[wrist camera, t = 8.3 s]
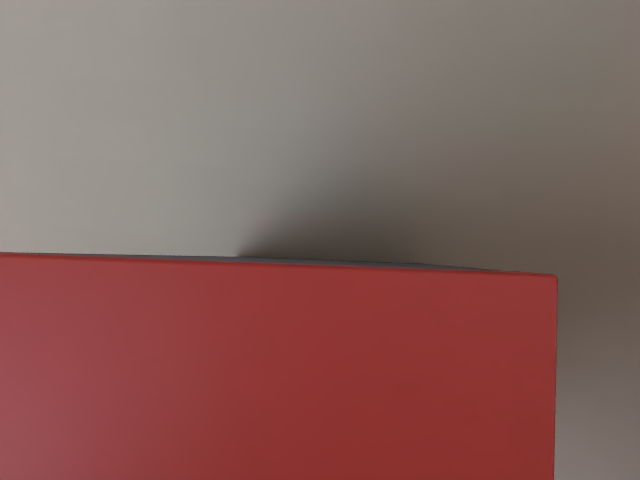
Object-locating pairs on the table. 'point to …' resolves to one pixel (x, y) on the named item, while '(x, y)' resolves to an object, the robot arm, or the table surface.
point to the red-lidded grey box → (273, 369)
